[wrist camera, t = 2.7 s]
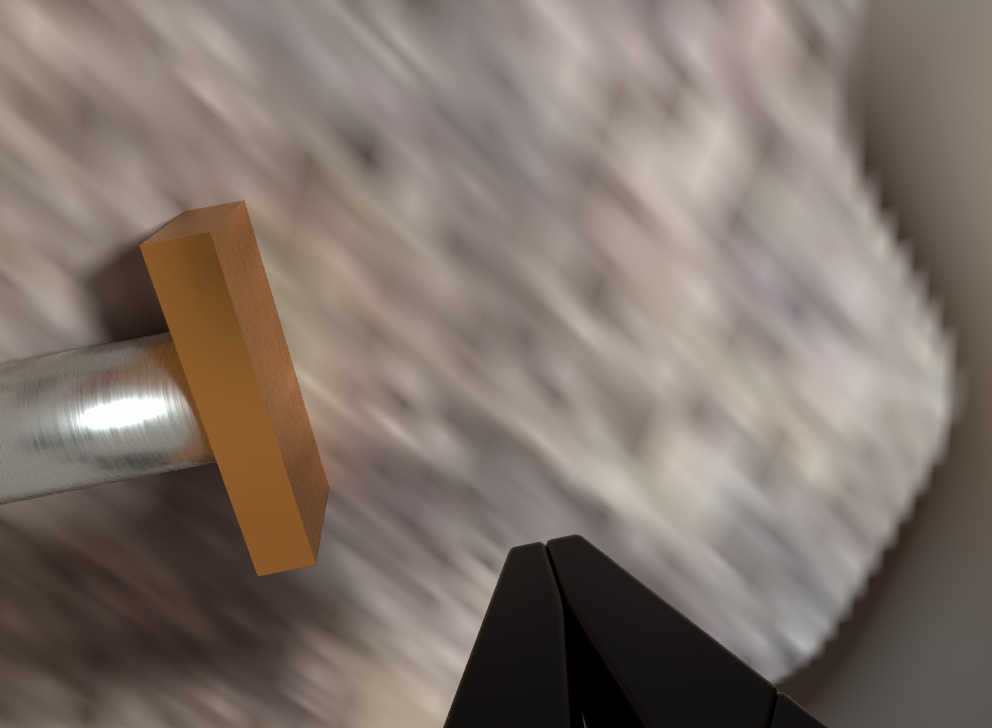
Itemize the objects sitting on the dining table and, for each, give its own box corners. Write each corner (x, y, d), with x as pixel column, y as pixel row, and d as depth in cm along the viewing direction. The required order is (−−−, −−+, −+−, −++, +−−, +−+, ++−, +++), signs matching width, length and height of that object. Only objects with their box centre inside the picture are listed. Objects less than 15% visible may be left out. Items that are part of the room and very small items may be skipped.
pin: (244, 200, 16) (209, 231, 13) (329, 487, 18) (315, 564, 16) (-263, 293, 15) (-412, 347, 12) (-99, 572, 18) (-191, 668, 15)
